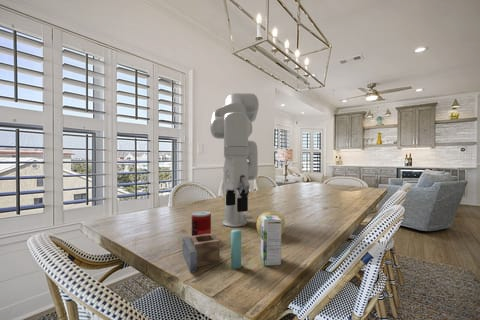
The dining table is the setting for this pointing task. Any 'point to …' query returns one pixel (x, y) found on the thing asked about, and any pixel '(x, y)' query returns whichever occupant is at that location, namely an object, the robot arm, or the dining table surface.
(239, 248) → the dowel
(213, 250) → the brown wooden open box
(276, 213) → the sculpture
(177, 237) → the dining table surface
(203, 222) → the canned food
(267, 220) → the syrup box
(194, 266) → the wall
